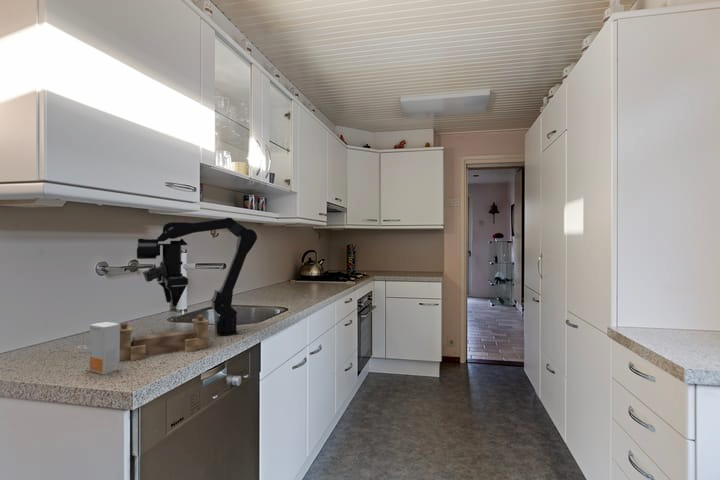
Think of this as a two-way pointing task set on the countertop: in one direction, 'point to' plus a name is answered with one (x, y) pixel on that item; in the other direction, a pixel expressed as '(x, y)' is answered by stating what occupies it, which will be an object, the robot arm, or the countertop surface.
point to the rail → (163, 342)
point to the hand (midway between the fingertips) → (171, 304)
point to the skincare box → (104, 347)
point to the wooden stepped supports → (139, 351)
